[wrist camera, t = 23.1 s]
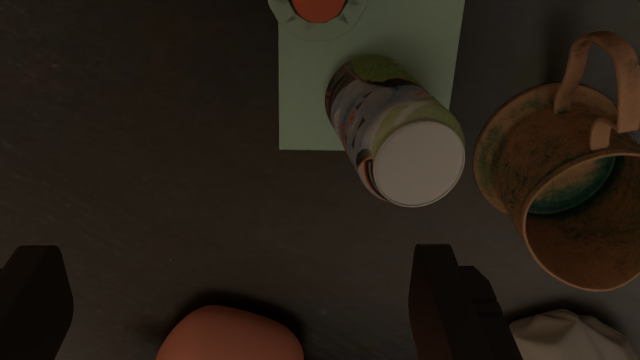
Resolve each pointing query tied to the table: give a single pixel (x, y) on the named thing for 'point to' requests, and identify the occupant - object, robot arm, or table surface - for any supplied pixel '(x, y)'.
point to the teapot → (229, 337)
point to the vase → (569, 338)
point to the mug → (571, 170)
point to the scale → (354, 41)
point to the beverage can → (395, 132)
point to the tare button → (318, 9)
